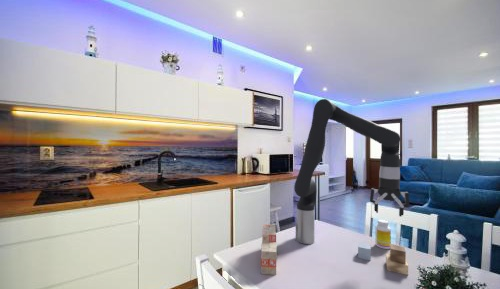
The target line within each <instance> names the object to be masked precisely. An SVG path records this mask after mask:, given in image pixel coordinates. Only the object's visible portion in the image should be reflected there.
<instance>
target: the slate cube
mask: <svg viewBox="0 0 500 289" xmlns="http://www.w3.org/2000/svg"><path fill="white" fill-rule="evenodd" d="M371 251H372V250H371V244H368V243H362V242H358V245H357V259H363V260H366V261H371V259H372V258H371V256H372V254H371Z"/></svg>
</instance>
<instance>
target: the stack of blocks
mask: <svg viewBox="0 0 500 289" xmlns="http://www.w3.org/2000/svg"><path fill="white" fill-rule="evenodd" d="M276 228H277V225H276V224H262V234H261V235H262V239H261V248H260V249H261V255H260V256H261V257H260V274H261V275H272V276H273V275H274V276H276V275H277V260H278V259H277V258H278V257H277V256H278V254H277V253H278V252H277V251H278V250H277V229H276Z"/></svg>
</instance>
